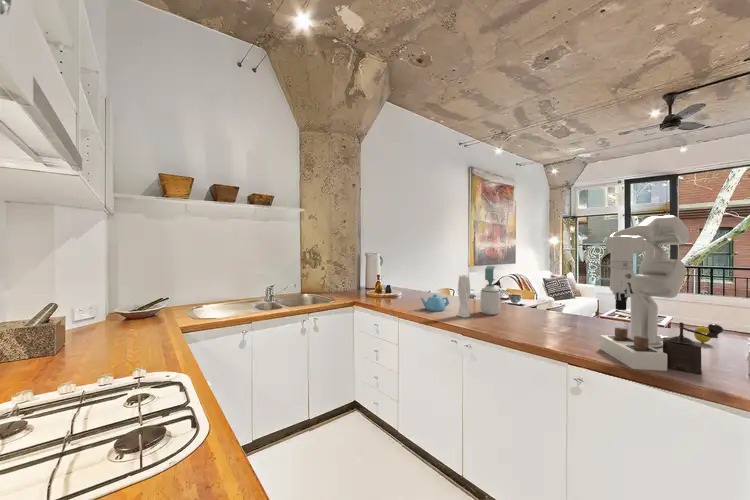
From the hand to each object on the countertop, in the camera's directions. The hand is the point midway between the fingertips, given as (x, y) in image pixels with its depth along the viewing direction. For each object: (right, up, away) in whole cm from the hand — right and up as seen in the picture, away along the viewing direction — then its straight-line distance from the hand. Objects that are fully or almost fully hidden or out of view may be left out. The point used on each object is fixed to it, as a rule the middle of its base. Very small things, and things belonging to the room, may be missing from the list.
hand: (620, 309), depth 134 cm
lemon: (+48, -18, +14) cm, 53 cm away
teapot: (-60, -17, +92) cm, 112 cm away
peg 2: (-2, -15, -12) cm, 19 cm away
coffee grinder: (+13, -19, -16) cm, 28 cm away
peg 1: (0, -14, 0) cm, 14 cm away
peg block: (-1, -18, -6) cm, 19 cm away
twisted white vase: (-46, -18, +70) cm, 85 cm away
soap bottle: (-26, -17, +79) cm, 85 cm away
